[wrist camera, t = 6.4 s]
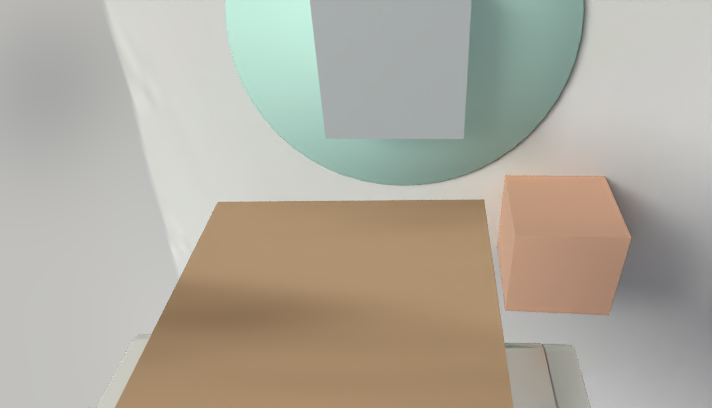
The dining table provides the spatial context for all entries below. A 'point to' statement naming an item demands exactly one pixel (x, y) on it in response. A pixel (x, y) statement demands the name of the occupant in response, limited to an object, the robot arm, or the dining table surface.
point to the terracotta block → (560, 244)
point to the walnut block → (331, 311)
